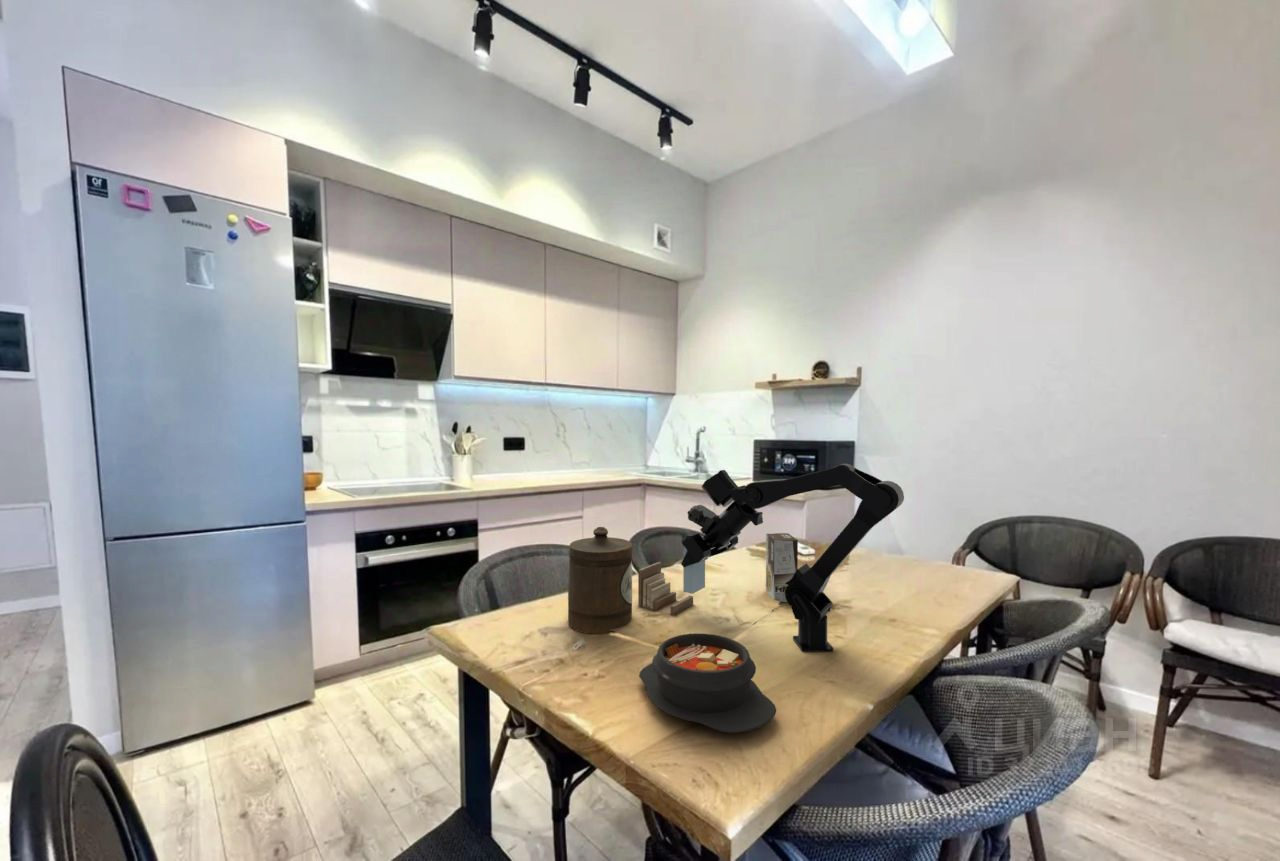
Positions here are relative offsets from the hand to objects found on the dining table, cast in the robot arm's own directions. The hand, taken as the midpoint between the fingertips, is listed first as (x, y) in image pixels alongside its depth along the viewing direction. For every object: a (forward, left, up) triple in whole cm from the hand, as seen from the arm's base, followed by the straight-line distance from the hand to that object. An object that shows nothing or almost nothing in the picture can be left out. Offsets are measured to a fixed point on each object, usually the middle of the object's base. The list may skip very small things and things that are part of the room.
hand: (689, 562), depth 122 cm
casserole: (-38, +2, -13) cm, 40 cm away
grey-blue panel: (-1, -1, -6) cm, 6 cm away
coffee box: (+13, -26, -13) cm, 31 cm away
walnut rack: (+4, +5, -12) cm, 14 cm away
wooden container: (-4, +21, -13) cm, 25 cm away
